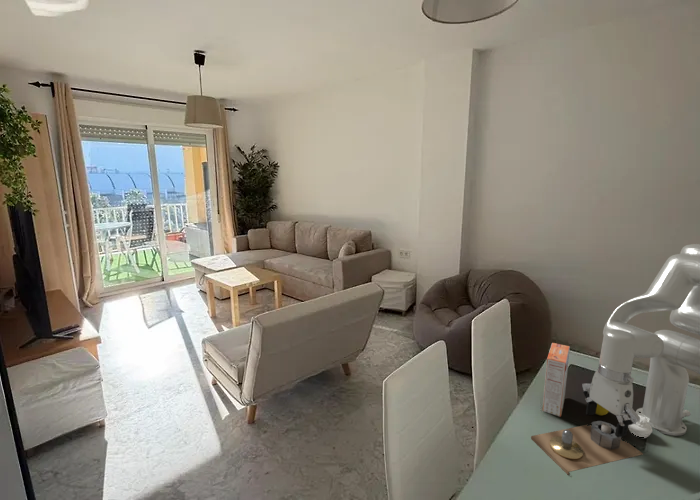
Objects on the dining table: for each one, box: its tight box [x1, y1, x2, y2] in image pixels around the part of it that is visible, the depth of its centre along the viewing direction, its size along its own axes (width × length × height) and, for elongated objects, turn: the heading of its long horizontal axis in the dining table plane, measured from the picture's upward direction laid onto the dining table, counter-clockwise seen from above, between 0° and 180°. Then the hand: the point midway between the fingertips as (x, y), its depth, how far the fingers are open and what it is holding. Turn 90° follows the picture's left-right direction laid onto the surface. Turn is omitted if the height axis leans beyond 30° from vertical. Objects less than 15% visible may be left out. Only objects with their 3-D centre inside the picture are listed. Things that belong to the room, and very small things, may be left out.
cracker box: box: [542, 342, 571, 418], centre depth 123 cm, size 14×6×21 cm, turn 144°
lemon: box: [595, 403, 610, 416], centre depth 119 cm, size 6×6×8 cm
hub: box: [550, 429, 583, 460], centre depth 103 cm, size 8×8×6 cm
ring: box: [590, 420, 622, 450], centre depth 106 cm, size 7×7×4 cm
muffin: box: [628, 415, 653, 439], centre depth 109 cm, size 6×6×7 cm
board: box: [530, 423, 644, 476], centre depth 105 cm, size 26×14×6 cm, turn 103°
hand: (604, 424), depth 105 cm, fingers open, 9 cm apart
